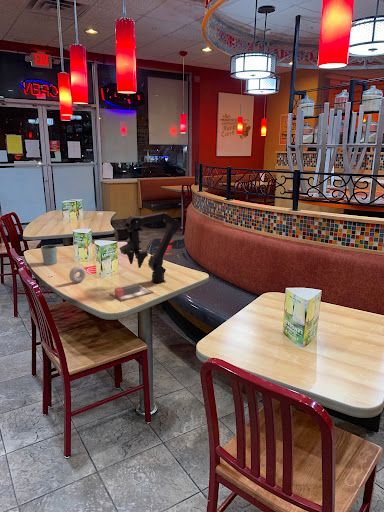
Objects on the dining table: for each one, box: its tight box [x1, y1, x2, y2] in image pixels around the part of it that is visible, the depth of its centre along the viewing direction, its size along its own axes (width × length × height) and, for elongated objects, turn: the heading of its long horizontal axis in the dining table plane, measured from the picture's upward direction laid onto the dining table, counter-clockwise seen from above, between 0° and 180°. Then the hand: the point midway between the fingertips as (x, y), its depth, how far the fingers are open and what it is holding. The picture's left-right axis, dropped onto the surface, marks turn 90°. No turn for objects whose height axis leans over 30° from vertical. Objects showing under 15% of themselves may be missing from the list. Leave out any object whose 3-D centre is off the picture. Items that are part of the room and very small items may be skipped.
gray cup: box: [40, 244, 58, 266], centre depth 259 cm, size 10×10×12 cm
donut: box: [68, 265, 86, 284], centre depth 223 cm, size 10×3×10 cm, turn 133°
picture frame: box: [109, 285, 155, 302], centre depth 208 cm, size 20×13×1 cm, turn 128°
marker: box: [114, 283, 143, 297], centre depth 206 cm, size 15×4×4 cm, turn 128°
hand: (135, 265), depth 216 cm, fingers open, 9 cm apart
